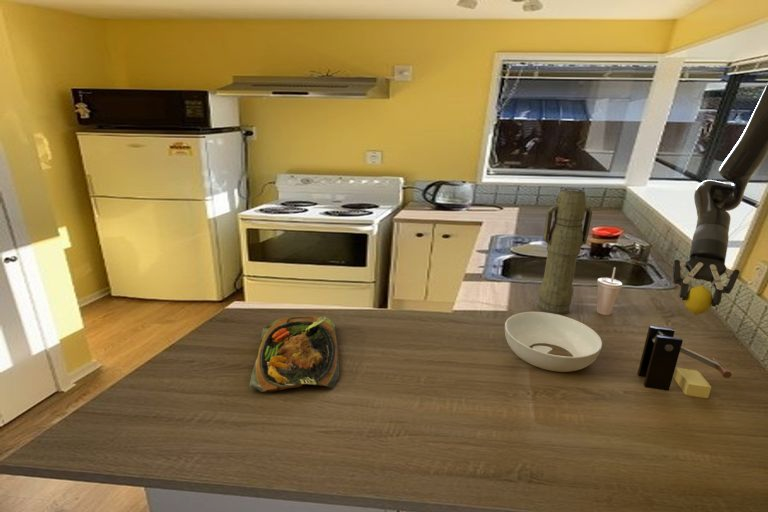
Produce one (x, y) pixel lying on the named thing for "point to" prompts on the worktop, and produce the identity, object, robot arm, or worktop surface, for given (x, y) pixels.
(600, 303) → the smoothie
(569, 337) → the serving bowl
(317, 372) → the prepared meal
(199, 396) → the worktop surface
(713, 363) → the lever
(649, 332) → the slicer
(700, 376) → the butter
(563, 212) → the thermos
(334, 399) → the worktop surface
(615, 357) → the worktop surface
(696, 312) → the lemon
